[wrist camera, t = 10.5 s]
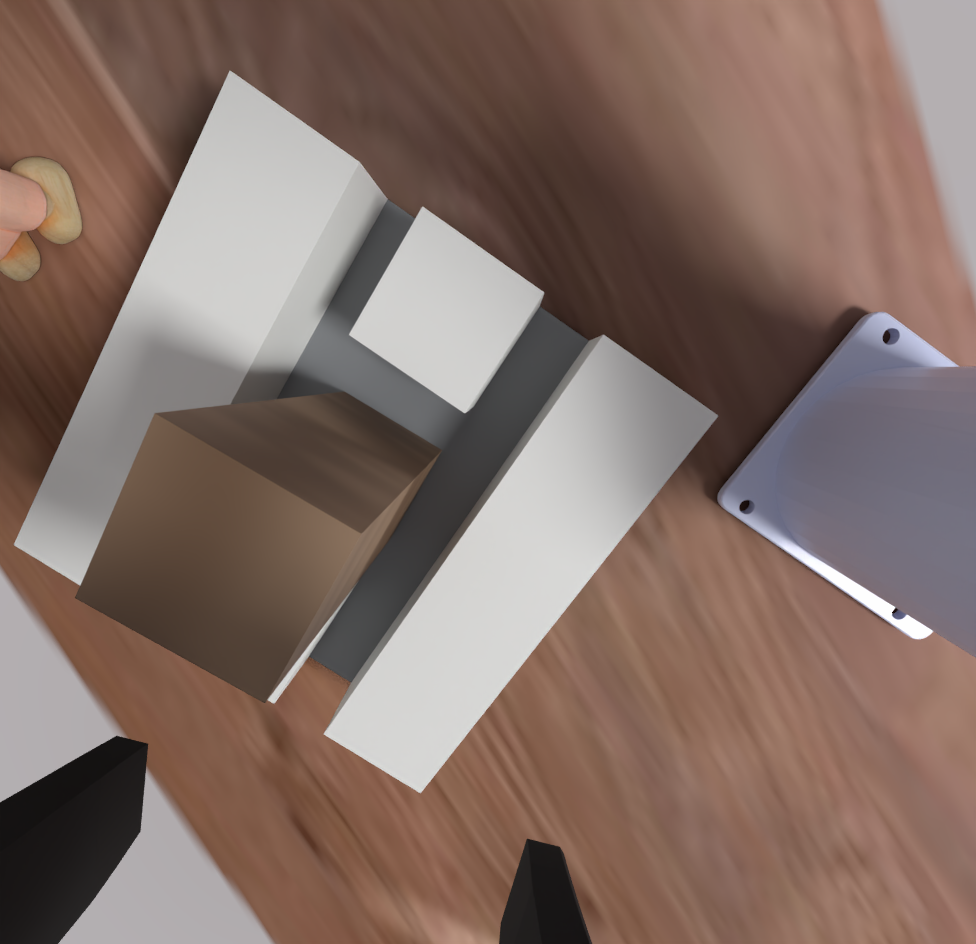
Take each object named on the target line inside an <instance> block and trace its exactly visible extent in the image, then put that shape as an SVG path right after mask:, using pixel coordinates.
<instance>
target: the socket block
mask: <svg viewBox="0 0 976 944" xmlns="http://www.w3.org/2000/svg"><path fill="white" fill-rule="evenodd" d="M543 296H544V292H543V291H541V290H540V289H538V288H537V287H536V286H534V285H533V284H531V283H530V282H529V281H527V280H526V279H524V278H523V277H522V276H520V275H519V274H517V273H516V272H514V271H513V270H512V269H510V268H509V267H507V266H506V265H505V264H503V263H502V262H500V261H499V260H497V259H496V258H495V257H493V256H492V255H490V254H489V253H488V252H486V251H485V250H483V249H482V248H480V247H479V246H478V245H476V244H475V243H473V242H472V241H471V240H469V239H468V238H466V237H465V236H464V235H462V234H461V233H459V232H458V231H456V230H455V229H454V228H452V227H451V226H449V225H448V224H447V223H445V222H444V221H442V220H441V219H439V218H438V217H437V216H435V215H434V214H432V213H431V212H430V211H428V210H427V209H425V208H424V207H422V208H421V210H420V212H419V213H418V215H417V217H416V219H415V218H414V217H412V216H411V215H409V214H408V213H406V212H405V211H404V210H402V209H401V208H399V207H398V206H396V205H395V204H394V203H392V202H391V201H389V200H388V199H387V198H386V196H385V195H384V194H383V192H382V191H381V190H380V188H379V187H378V186H377V184H376V183H375V182H374V181H373V179H372V178H371V177H370V175H369V174H368V173H367V171H366V170H365V169H364V167H363V166H362V165H361V163H360V162H359V161H357V160H356V159H355V158H353V157H352V156H350V155H349V154H347V153H346V152H345V151H343V150H342V149H340V148H339V147H338V146H336V145H335V144H333V143H332V142H330V141H329V140H328V139H326V138H325V137H323V136H322V135H321V134H319V133H318V132H316V131H315V130H314V129H312V128H311V127H309V126H308V125H306V124H305V123H304V122H302V121H301V120H299V119H298V118H297V117H295V116H294V115H292V114H291V113H289V112H288V111H287V110H285V109H284V108H282V107H281V106H280V105H278V104H277V103H275V102H274V101H272V100H271V99H270V98H268V97H267V96H265V95H264V94H263V93H261V92H260V91H258V90H257V89H255V88H254V87H253V86H251V85H250V84H248V83H247V82H246V81H244V80H243V79H241V78H240V77H239V76H237V75H236V74H234V73H233V72H231V71H229V74H228V76H227V78H226V80H225V82H224V85H223V87H222V89H221V91H220V93H219V96H218V98H217V100H216V102H215V104H214V107H213V109H212V111H211V113H210V115H209V118H208V120H207V122H206V124H205V126H204V128H203V131H202V133H201V135H200V137H199V139H198V142H197V144H196V146H195V148H194V150H193V153H192V155H191V157H190V159H189V161H188V164H187V166H186V168H185V170H184V172H183V175H182V177H181V179H180V181H179V183H178V186H177V188H176V190H175V192H174V194H173V197H172V199H171V201H170V203H169V205H168V208H167V210H166V212H165V214H164V216H163V218H162V221H161V223H160V225H159V227H158V229H157V232H156V234H155V236H154V238H153V240H152V243H151V245H150V247H149V249H148V251H147V254H146V256H145V258H144V260H143V262H142V265H141V267H140V269H139V271H138V273H137V276H136V278H135V280H134V282H133V284H132V287H131V289H130V291H129V293H128V295H127V298H126V300H125V302H124V304H123V306H122V309H121V311H120V313H119V315H118V317H117V319H116V322H115V324H114V326H113V328H112V330H111V333H110V335H109V337H108V339H107V341H106V344H105V346H104V348H103V350H102V352H101V355H100V357H99V359H98V361H97V363H96V366H95V368H94V370H93V372H92V374H91V377H90V379H89V381H88V383H87V385H86V388H85V390H84V392H83V394H82V396H81V399H80V401H79V403H78V405H77V407H76V409H75V412H74V414H73V416H72V418H71V420H70V423H69V425H68V427H67V429H66V431H65V434H64V436H63V438H62V440H61V442H60V445H59V447H58V449H57V451H56V453H55V456H54V458H53V460H52V462H51V464H50V467H49V469H48V471H47V473H46V475H45V478H44V480H43V482H42V484H41V486H40V489H39V491H38V493H37V495H36V497H35V500H34V502H33V504H32V506H31V508H30V510H29V513H28V515H27V517H26V519H25V521H24V524H23V526H22V528H21V530H20V532H19V535H18V537H17V539H16V541H15V543H14V545H15V546H16V547H18V548H20V549H21V550H23V551H24V552H26V553H28V554H29V555H31V556H33V557H34V558H36V559H38V560H39V561H41V562H43V563H44V564H46V565H47V566H49V567H51V568H52V569H54V570H56V571H57V572H59V573H61V574H62V575H64V576H65V577H67V578H69V579H70V580H72V581H74V582H75V583H77V584H79V585H81V583H82V581H83V578H84V576H85V574H86V571H87V569H88V567H89V564H90V562H91V560H92V557H93V555H94V553H95V550H96V548H97V546H98V543H99V541H100V539H101V536H102V534H103V532H104V529H105V527H106V525H107V523H108V520H109V518H110V516H111V513H112V511H113V509H114V506H115V504H116V502H117V499H118V497H119V495H120V492H121V490H122V488H123V485H124V483H125V481H126V478H127V476H128V474H129V471H130V469H131V467H132V464H133V462H134V460H135V457H136V455H137V453H138V451H139V448H140V446H141V444H142V441H143V439H144V437H145V434H146V432H147V430H148V427H149V425H150V423H151V420H152V418H153V416H154V413H160V412H169V411H178V410H187V409H195V408H204V407H213V406H222V405H231V404H239V403H248V402H257V401H266V400H275V399H283V398H292V397H301V396H310V395H319V394H327V393H336V392H346V393H348V394H350V395H351V396H353V397H355V398H356V399H358V400H360V401H361V402H363V403H365V404H366V405H368V406H370V407H371V408H373V409H375V410H376V411H378V412H380V413H381V414H383V415H384V416H386V417H388V418H389V419H391V420H393V421H394V422H396V423H398V424H399V425H401V426H403V427H404V428H406V429H408V430H409V431H411V432H413V433H414V434H416V435H418V436H419V437H421V438H423V439H424V440H426V441H428V442H429V443H431V444H433V445H434V446H436V447H438V448H439V449H441V450H442V451H441V453H440V455H439V457H438V458H437V460H436V462H435V463H434V465H433V467H432V468H431V470H430V472H429V474H428V475H427V477H426V479H425V480H424V482H423V484H422V485H421V487H420V489H419V491H418V492H417V494H416V496H415V497H414V499H413V501H412V502H411V504H410V506H409V508H408V509H407V511H406V513H405V514H404V516H403V518H402V519H401V521H400V523H399V525H398V526H397V528H396V530H395V531H394V533H393V535H392V536H391V538H390V540H389V541H388V543H387V544H386V545H385V546H384V548H383V549H382V550H381V552H380V553H379V554H378V556H377V557H376V558H375V560H374V561H373V562H372V564H371V565H370V566H369V567H368V569H367V570H366V571H365V573H364V574H363V575H362V577H361V578H360V579H359V581H358V582H357V583H356V584H355V586H354V587H353V588H352V590H351V591H350V592H349V594H348V595H347V596H346V598H345V599H344V600H343V602H342V603H341V604H340V605H339V607H338V608H337V609H336V611H335V612H334V613H333V615H332V616H331V617H330V619H329V620H328V621H327V622H326V624H325V625H324V626H323V628H322V629H321V630H320V632H319V633H318V634H317V636H316V637H315V638H314V640H313V641H312V642H311V643H310V645H309V646H308V647H307V649H306V650H305V651H304V653H303V654H302V655H301V657H300V658H299V659H298V661H297V662H296V663H295V664H294V666H293V667H292V668H291V670H290V671H289V672H288V674H287V675H286V676H285V678H284V679H283V680H282V681H281V683H280V684H279V685H278V687H277V688H276V689H275V691H274V692H273V693H272V695H271V696H270V697H269V699H268V700H269V701H270V702H272V703H273V704H274V703H275V702H276V701H277V699H278V698H279V696H280V695H281V694H282V692H283V691H284V690H285V688H286V687H287V686H288V684H289V683H290V681H291V680H292V679H293V677H294V676H295V675H296V673H297V672H298V671H299V669H300V668H301V666H302V665H303V664H304V662H305V661H306V660H307V658H308V657H311V658H313V659H314V660H316V661H317V662H319V663H321V664H322V665H324V666H325V667H327V668H329V669H330V670H332V671H333V672H335V673H337V674H338V675H340V676H342V677H343V678H345V679H346V680H348V681H350V682H351V684H350V686H349V688H348V690H347V691H346V693H345V695H344V697H343V699H342V701H341V703H340V704H339V706H338V708H337V710H336V712H335V714H334V716H333V718H332V719H331V721H330V723H329V725H328V727H327V729H326V731H325V732H324V735H326V736H328V737H329V738H331V739H332V740H334V741H336V742H337V743H339V744H341V745H342V746H344V747H346V748H347V749H349V750H350V751H352V752H354V753H355V754H357V755H359V756H360V757H362V758H364V759H365V760H367V761H368V762H370V763H372V764H373V765H375V766H377V767H378V768H380V769H382V770H383V771H385V772H386V773H388V774H390V775H391V776H393V777H395V778H396V779H398V780H400V781H401V782H403V783H405V784H406V785H408V786H409V787H411V788H413V789H414V790H416V791H418V792H419V793H421V792H422V791H423V789H424V788H425V787H426V786H427V784H428V783H429V782H430V781H431V779H432V778H433V777H434V775H435V774H436V773H437V772H438V770H439V769H440V768H441V767H442V765H443V764H444V763H445V762H446V760H447V759H448V758H449V756H450V755H451V754H452V753H453V751H454V750H455V749H456V748H457V746H458V745H459V744H460V743H461V741H462V740H463V739H464V737H465V736H466V735H467V734H468V732H469V731H470V730H471V729H472V727H473V726H474V725H475V724H476V722H477V721H478V720H479V718H480V717H481V716H482V715H483V713H484V712H485V711H486V710H487V708H488V707H489V706H490V705H491V703H492V702H493V701H494V699H495V698H496V697H497V696H498V694H499V693H500V692H501V691H502V689H503V688H504V687H505V686H506V684H507V683H508V682H509V680H510V679H511V678H512V677H513V675H514V674H515V673H516V672H517V670H518V669H519V668H520V667H521V665H522V664H523V663H524V661H525V660H526V659H527V658H528V656H529V655H530V654H531V653H532V651H533V650H534V649H535V648H536V646H537V645H538V644H539V642H540V641H541V640H542V639H543V637H544V636H545V635H546V634H547V632H548V631H549V630H550V629H551V627H552V626H553V625H554V623H555V622H556V621H557V620H558V618H559V617H560V616H561V615H562V613H563V612H564V611H565V610H566V608H567V607H568V606H569V604H570V603H571V602H572V601H573V599H574V598H575V597H576V596H577V594H578V593H579V592H580V591H581V589H582V588H583V587H584V585H585V584H586V583H587V582H588V580H589V579H590V578H591V577H592V575H593V574H594V573H595V572H596V570H597V569H598V568H599V566H600V565H601V564H602V563H603V561H604V560H605V559H606V558H607V556H608V555H609V554H610V553H611V551H612V550H613V549H614V547H615V546H616V545H617V544H618V542H619V541H620V540H621V539H622V537H623V536H624V535H625V534H626V532H627V531H628V530H629V528H630V527H631V526H632V525H633V523H634V522H635V521H636V520H637V518H638V517H639V516H640V515H641V513H642V512H643V511H644V509H645V508H646V507H647V506H648V504H649V503H650V502H651V501H652V499H653V498H654V497H655V496H656V494H657V493H658V492H659V490H660V489H661V488H662V487H663V485H664V484H665V483H666V482H667V480H668V479H669V478H670V477H671V475H672V474H673V473H674V472H675V470H676V469H677V468H678V466H679V465H680V464H681V463H682V461H683V460H684V459H685V458H686V456H687V455H688V454H689V453H690V451H691V450H692V449H693V447H694V446H695V445H696V444H697V442H698V441H699V440H700V439H701V437H702V436H703V435H704V434H705V432H706V431H707V430H708V428H709V427H710V426H711V425H712V423H713V422H714V421H715V420H716V418H717V417H718V415H717V414H715V413H714V412H713V411H711V410H710V409H708V408H707V407H705V406H704V405H703V404H701V403H700V402H698V401H697V400H696V399H694V398H693V397H691V396H690V395H688V394H687V393H686V392H684V391H683V390H681V389H680V388H679V387H677V386H676V385H674V384H673V383H672V382H670V381H669V380H667V379H666V378H664V377H663V376H662V375H660V374H659V373H657V372H656V371H655V370H653V369H652V368H650V367H649V366H647V365H646V364H645V363H643V362H642V361H640V360H639V359H638V358H636V357H635V356H633V355H632V354H630V353H629V352H628V351H626V350H625V349H623V348H622V347H621V346H619V345H618V344H616V343H615V342H613V341H612V340H611V339H609V338H608V337H606V336H605V335H601V336H599V337H597V338H594V339H592V340H590V341H588V340H587V339H585V338H584V337H583V336H581V335H580V334H578V333H577V332H575V331H574V330H573V329H571V328H570V327H568V326H567V325H566V324H564V323H563V322H561V321H560V320H558V319H557V318H556V317H554V316H553V315H551V314H550V313H548V312H547V311H546V310H544V309H543V308H541V307H540V304H541V301H542V298H543Z"/></svg>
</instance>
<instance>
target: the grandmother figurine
mask: <svg viewBox="0 0 976 944" xmlns="http://www.w3.org/2000/svg"><path fill="white" fill-rule="evenodd" d="M34 229H37V230H38V231H39V232H40V234H41V235H43V236H44V237H45V238H46V239H48V240H49V241H51V242H53V243H56V244H66V243H68V242H71V241H73V240H75V239H77V238H78V236H79V235H80V233H81V230H82V219H81V214H80V210H79V207H78V204H77V200H76V197H75V193H74V189H73V186H72V183H71V180H70V178H69V176H68V174H67V172H66V171H65V170H64V169H63V167H62V166H61V165H60V164H59V163H57V162H55V161H53V160H51V159H48V158H42V157H30V158H25V159H22V160H19V161H18V162H16V163H15V164H14V165H13V166H12V168H11V171H10V172H8V171H5V170H2V169H0V271H1V272H2V273H3V274H5V275H6V276H8V277H10V278H11V279H14V280H16V281H25V280H28V279H30V278H31V277H32V276H33V275H34V274H35V273H36V272H37V271H38V270H39V267H40V263H41V261H40V254H39V251H38V249H37V247H36V246H35V244H34V243H33V241H32V239H31V238H30V236H29V234H28V233H27V231H31V230H34Z"/></svg>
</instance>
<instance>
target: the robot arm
mask: <svg viewBox="0 0 976 944" xmlns="http://www.w3.org/2000/svg"><path fill="white" fill-rule="evenodd" d="M886 330H888V331H889V333H890V339H889V341H888V342H887V343H886V344H885V343H884V342H883V337H882V336H883V334H884V332H885V331H886ZM717 500H718V503H719V505H720V506H721V507H722V508H724V509H725V510H726V511H728V512H729V513H731V514H732V515H734V516H735V517H737V518H738V519H739V520H741V521H742V522H744V523H745V524H747V525H748V526H750V527H751V528H753V529H754V530H755V531H757V532H758V533H760V534H761V535H763V536H764V537H766V538H767V539H768V540H770V541H771V542H773V543H774V544H776V545H777V546H779V547H780V548H781V549H783V550H784V551H786V552H787V553H789V554H790V555H792V556H793V557H794V558H796V559H797V560H799V561H800V562H802V563H803V564H805V565H806V566H807V567H809V568H810V569H812V570H813V571H815V572H816V573H818V574H819V575H820V576H822V577H823V578H825V579H826V580H828V581H829V582H831V583H832V584H834V585H835V586H836V587H838V588H839V589H841V590H842V591H844V592H845V593H847V594H848V595H849V596H851V597H852V598H854V599H855V600H857V601H858V602H860V603H861V604H862V605H864V606H865V607H867V608H868V609H870V610H871V611H873V612H874V613H875V614H877V615H878V616H880V617H881V618H883V619H884V620H886V621H887V622H888V623H890V624H891V625H893V626H894V627H896V628H897V629H899V630H900V631H901V632H903V633H904V634H906V635H907V636H909V637H911V638H913V639H922V638H925V637H927V636H928V635H930V634H931V633H932V632H933V631H934V632H936V633H937V634H939V635H940V636H942V637H944V638H945V639H947V640H948V641H950V642H952V643H953V644H955V645H956V646H958V647H960V648H961V649H963V650H964V651H966V652H968V653H969V654H971V655H972V656H974V657H976V366H973V367H959V366H958V365H956V364H955V363H954V362H952V361H951V360H950V359H948V358H947V357H946V356H944V355H943V354H942V353H940V352H939V351H938V350H936V349H935V348H934V347H932V346H931V345H930V344H928V343H927V342H926V341H924V340H923V339H922V338H920V337H919V336H918V335H916V334H915V333H914V332H912V331H911V330H910V329H908V328H907V327H906V326H904V325H903V324H902V323H900V322H899V321H897V320H896V319H895V318H893V317H892V316H891V315H889V314H887V313H885V312H874V313H870V314H867V315H865V316H863V317H862V318H861V319H860V320H859V321H858V322H857V324H856V325H855V326H854V327H853V328H852V330H851V331H850V332H849V333H848V334H847V336H846V337H845V338H844V339H843V341H842V342H841V343H840V344H839V345H838V347H837V348H836V349H835V350H834V352H833V353H832V354H831V355H830V356H829V358H828V359H827V360H826V361H825V362H824V364H823V365H822V366H821V367H820V369H819V370H818V371H817V372H816V373H815V375H814V376H813V377H812V378H811V379H810V381H809V382H808V383H807V384H806V386H805V387H804V388H803V389H802V390H801V392H800V393H799V394H798V395H797V397H796V398H795V399H794V400H793V401H792V403H791V404H790V405H789V406H788V407H787V409H786V410H785V411H784V412H783V414H782V415H781V416H780V417H779V418H778V420H777V421H776V422H775V423H774V425H773V426H772V427H771V428H770V429H769V431H768V432H767V433H766V434H765V435H764V437H763V438H762V439H761V440H760V442H759V443H758V444H757V445H756V446H755V448H754V449H753V450H752V451H751V453H750V454H749V455H748V456H747V457H746V459H745V460H744V461H743V462H742V463H741V465H740V466H739V467H738V468H737V470H736V471H735V472H734V473H733V474H732V476H731V477H730V478H729V479H728V481H727V482H726V483H725V484H724V485H723V487H722V488H721V489H720V491H719V493H718V497H717ZM744 500H749V507H748V508H747V509H746V510H744V511H740V509H739V506H740V504H741V502H743V501H744ZM895 608H897V609H898V610H897V612H895V613H894V614H892V611H893V610H894V609H895ZM147 751H148V744H147V743H143V742H139V741H135V740H131V739H127V738H123V737H119V736H116V737H114V738H112V739H110V740H109V741H107V742H105V743H103V744H101V745H100V746H98V747H96V748H94V749H92V750H91V751H89V752H87V753H85V754H84V755H82V756H80V757H79V758H77V759H75V760H73V761H71V762H70V763H68V764H66V765H64V766H63V767H61V768H59V769H58V770H56V771H54V772H52V773H51V774H49V775H47V776H45V777H44V778H42V779H40V780H39V781H37V782H35V783H33V784H32V785H30V786H28V787H26V788H24V789H23V790H21V791H19V792H17V793H16V794H14V795H13V796H11V797H9V798H7V799H6V800H4V801H2V802H0V944H58V943H59V942H60V940H61V939H62V938H63V937H64V936H65V934H66V933H67V932H68V931H69V929H70V928H71V927H72V926H73V925H74V923H75V922H76V921H77V919H78V918H79V917H80V916H81V915H82V913H83V912H84V911H85V910H86V908H87V907H88V906H89V905H90V903H91V902H92V901H93V900H94V898H95V897H96V895H97V894H98V893H99V891H100V890H101V888H102V887H103V886H104V884H105V883H106V881H107V880H108V878H109V877H110V875H111V874H112V873H113V871H114V870H115V868H116V867H117V865H118V864H119V863H120V861H121V860H122V858H123V857H124V855H125V853H126V852H127V850H128V849H129V848H130V846H131V845H132V843H133V842H134V840H135V839H136V837H137V835H138V834H139V833H140V830H141V819H142V806H143V795H144V785H145V773H146V762H147ZM499 944H592V942H591V939H590V936H589V933H588V930H587V927H586V924H585V921H584V918H583V915H582V912H581V909H580V906H579V903H578V900H577V897H576V894H575V890H574V887H573V884H572V881H571V877H570V874H569V871H568V867H567V864H566V860H565V857H564V853H563V852H562V850H561V848H560V847H558V846H554V845H550V844H546V843H542V842H538V841H534V840H530V839H527V841H526V844H525V847H524V850H523V853H522V857H521V860H520V863H519V866H518V869H517V873H516V876H515V879H514V882H513V886H512V889H511V892H510V895H509V898H508V902H507V905H506V908H505V911H504V915H503V918H502V921H501V929H500V941H499Z"/></svg>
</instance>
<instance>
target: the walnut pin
mask: <svg viewBox="0 0 976 944" xmlns="http://www.w3.org/2000/svg"><path fill="white" fill-rule="evenodd" d="M441 451H442V450H441V449H439V448H438V447H436V446H434V445H433V444H431V443H429V442H428V441H426V440H424V439H423V438H421V437H419V436H418V435H416V434H414V433H413V432H411V431H409V430H408V429H406V428H404V427H403V426H401V425H399V424H398V423H396V422H394V421H393V420H391V419H389V418H388V417H386V416H384V415H383V414H381V413H380V412H378V411H376V410H375V409H373V408H371V407H370V406H368V405H366V404H365V403H363V402H361V401H360V400H358V399H356V398H355V397H353V396H351V395H350V394H348V393H346V392H336V393H327V394H319V395H310V396H301V397H292V398H283V399H275V400H266V401H257V402H248V403H239V404H231V405H222V406H213V407H204V408H195V409H187V410H178V411H169V412H160V413H154V416H153V418H152V420H151V423H150V425H149V427H148V430H147V432H146V434H145V437H144V439H143V441H142V444H141V446H140V448H139V451H138V453H137V455H136V457H135V460H134V462H133V464H132V467H131V469H130V471H129V474H128V476H127V478H126V481H125V483H124V485H123V488H122V490H121V492H120V495H119V497H118V499H117V502H116V504H115V506H114V509H113V511H112V513H111V516H110V518H109V520H108V523H107V525H106V527H105V529H104V532H103V534H102V536H101V539H100V541H99V543H98V546H97V548H96V550H95V553H94V555H93V557H92V560H91V562H90V564H89V567H88V569H87V571H86V574H85V576H84V578H83V581H82V583H81V585H80V588H79V590H78V592H77V594H76V597H75V598H76V599H78V600H80V601H81V602H83V603H85V604H87V605H89V606H90V607H92V608H94V609H96V610H98V611H99V612H101V613H103V614H105V615H107V616H108V617H110V618H112V619H114V620H116V621H117V622H119V623H121V624H123V625H125V626H126V627H128V628H130V629H132V630H134V631H135V632H137V633H139V634H141V635H143V636H144V637H146V638H148V639H150V640H152V641H153V642H155V643H157V644H159V645H161V646H163V647H164V648H166V649H168V650H170V651H172V652H173V653H175V654H177V655H179V656H181V657H182V658H184V659H186V660H188V661H190V662H191V663H193V664H195V665H197V666H199V667H200V668H202V669H204V670H206V671H208V672H209V673H211V674H213V675H215V676H217V677H218V678H220V679H222V680H224V681H226V682H227V683H229V684H231V685H233V686H235V687H236V688H238V689H240V690H242V691H244V692H245V693H247V694H249V695H251V696H253V697H255V698H256V699H258V700H260V701H262V702H264V703H265V702H266V701H267V700H268V699H269V697H270V696H271V695H272V693H273V692H274V691H275V689H276V688H277V687H278V685H279V684H280V683H281V681H282V680H283V679H284V678H285V676H286V675H287V674H288V672H289V671H290V670H291V668H292V667H293V666H294V664H295V663H296V662H297V661H298V659H299V658H300V657H301V655H302V654H303V653H304V651H305V650H306V649H307V647H308V646H309V645H310V643H311V642H312V641H313V640H314V638H315V637H316V636H317V634H318V633H319V632H320V630H321V629H322V628H323V626H324V625H325V624H326V622H327V621H328V620H329V619H330V617H331V616H332V615H333V613H334V612H335V611H336V609H337V608H338V607H339V605H340V604H341V603H342V602H343V600H344V599H345V598H346V596H347V595H348V594H349V592H350V591H351V590H352V588H353V587H354V586H355V584H356V583H357V582H358V581H359V579H360V578H361V577H362V575H363V574H364V573H365V571H366V570H367V569H368V567H369V566H370V565H371V564H372V562H373V561H374V560H375V558H376V557H377V556H378V554H379V553H380V552H381V550H382V549H383V548H384V546H385V545H386V544H387V543H388V541H389V540H390V538H391V536H392V535H393V533H394V531H395V530H396V528H397V526H398V525H399V523H400V521H401V519H402V518H403V516H404V514H405V513H406V511H407V509H408V508H409V506H410V504H411V502H412V501H413V499H414V497H415V496H416V494H417V492H418V491H419V489H420V487H421V485H422V484H423V482H424V480H425V479H426V477H427V475H428V474H429V472H430V470H431V468H432V467H433V465H434V463H435V462H436V460H437V458H438V457H439V455H440V453H441Z"/></svg>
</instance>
